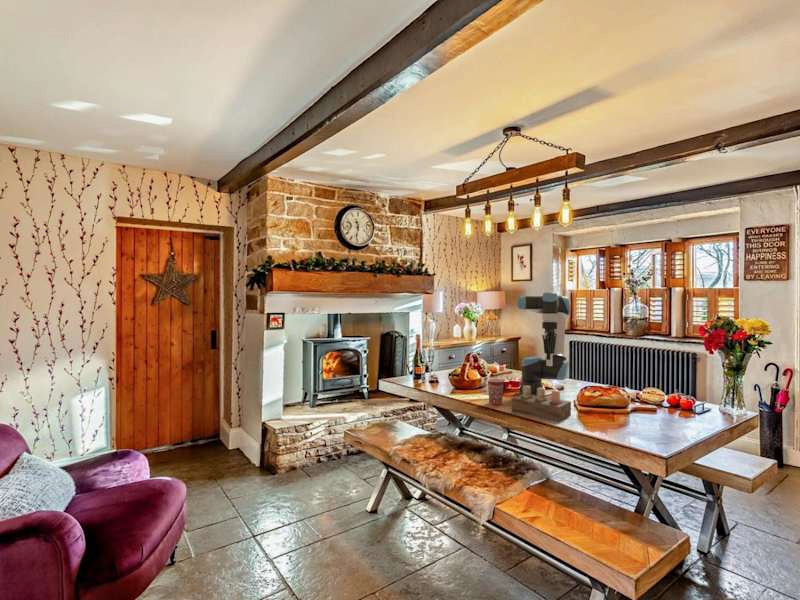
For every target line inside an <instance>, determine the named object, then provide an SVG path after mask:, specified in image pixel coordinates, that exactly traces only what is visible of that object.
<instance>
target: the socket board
mask: <svg viewBox="0 0 800 600" xmlns="http://www.w3.org/2000/svg"><path fill="white" fill-rule="evenodd" d="M571 408H572V402H571V401H570V400H569V401H568V400H564V399H560V404H553V403H552V397H546V396H545V401H544V402H542V401H537V396H535V395H530V399H525V398H523V394H522V395H519V394H518V395H517V396H515V397H512V398H511V412H512V411H513V413H516V414H517V413H518V414H521V415H527V416H532V417H537V418H542V419H548V420H551V421H555V422H556V421H557V422H561V421H563V420H564V419H566V418H569V417H571V414H572V409H571Z"/></svg>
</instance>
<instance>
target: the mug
mask: <svg viewBox="0 0 800 600" xmlns="http://www.w3.org/2000/svg"><path fill="white" fill-rule="evenodd" d="M487 386H488V387H487V388H488V402H489V404H490V405H492V406H501V405H503V399H504V398H503V397H504V394H505V393H506V388H507V385H506V382H505V380H504V379H503V378H502V379H501V378H496V377H495V378H488V379H487Z"/></svg>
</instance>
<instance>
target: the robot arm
mask: <svg viewBox="0 0 800 600" xmlns="http://www.w3.org/2000/svg"><path fill="white" fill-rule="evenodd" d="M516 304H517V309H518V310H529V311H531V312H533V313H537V314H541V317H542V327H541V328H542V329H544V334H542V336H541V337H542V341H543V342H542V343H543V353H544V354H546V356H545V359H543V357H542V356H536V355H535V356H527V357H524V358H523V359H522V360H521V383H520V387H519V388H518V396H519V395H522V394H523V386H531V393H530V395H535V396H537V388H544V385H543V383H542V380H553V381H565V380H566V379H567V377H568V373H569V368H570V367H569V365H570V362H569V360H567V356H566V355H565V339H566V338H565V336H566V335H565V332H566V320H567V319H568V318H569V316H570V315H571V304H570V297H568V296H566V295H558V293H557V292H543V293H542V295H541V296H540V295H536V296H533V295H528V296H527V295H523V296H518V297H517V303H516Z"/></svg>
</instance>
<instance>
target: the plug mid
mask: <svg viewBox="0 0 800 600" xmlns="http://www.w3.org/2000/svg"><path fill="white" fill-rule="evenodd" d="M545 397H546V388H545V387H543V388H537V401H542V402H544V401H545Z"/></svg>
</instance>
